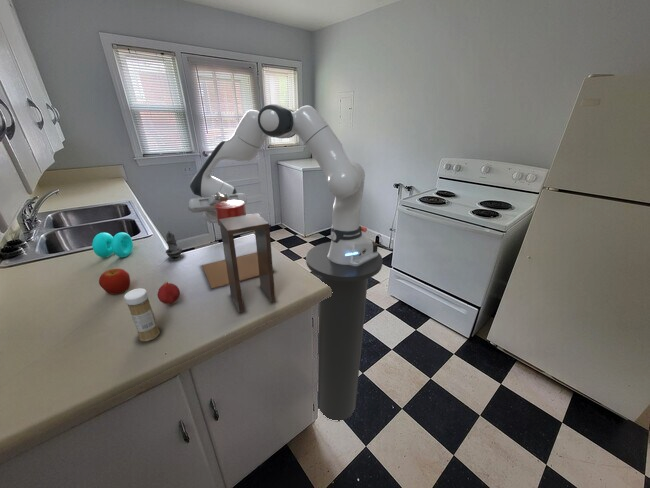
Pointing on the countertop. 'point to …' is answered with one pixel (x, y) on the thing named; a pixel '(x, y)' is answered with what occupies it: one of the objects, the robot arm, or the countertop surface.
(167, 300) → the onion
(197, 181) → the robot arm
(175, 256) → the grey statuette
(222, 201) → the saucepan
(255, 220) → the shelf
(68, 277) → the countertop surface
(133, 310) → the spice jar
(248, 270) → the mat
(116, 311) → the countertop surface
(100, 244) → the donuts
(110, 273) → the apple
